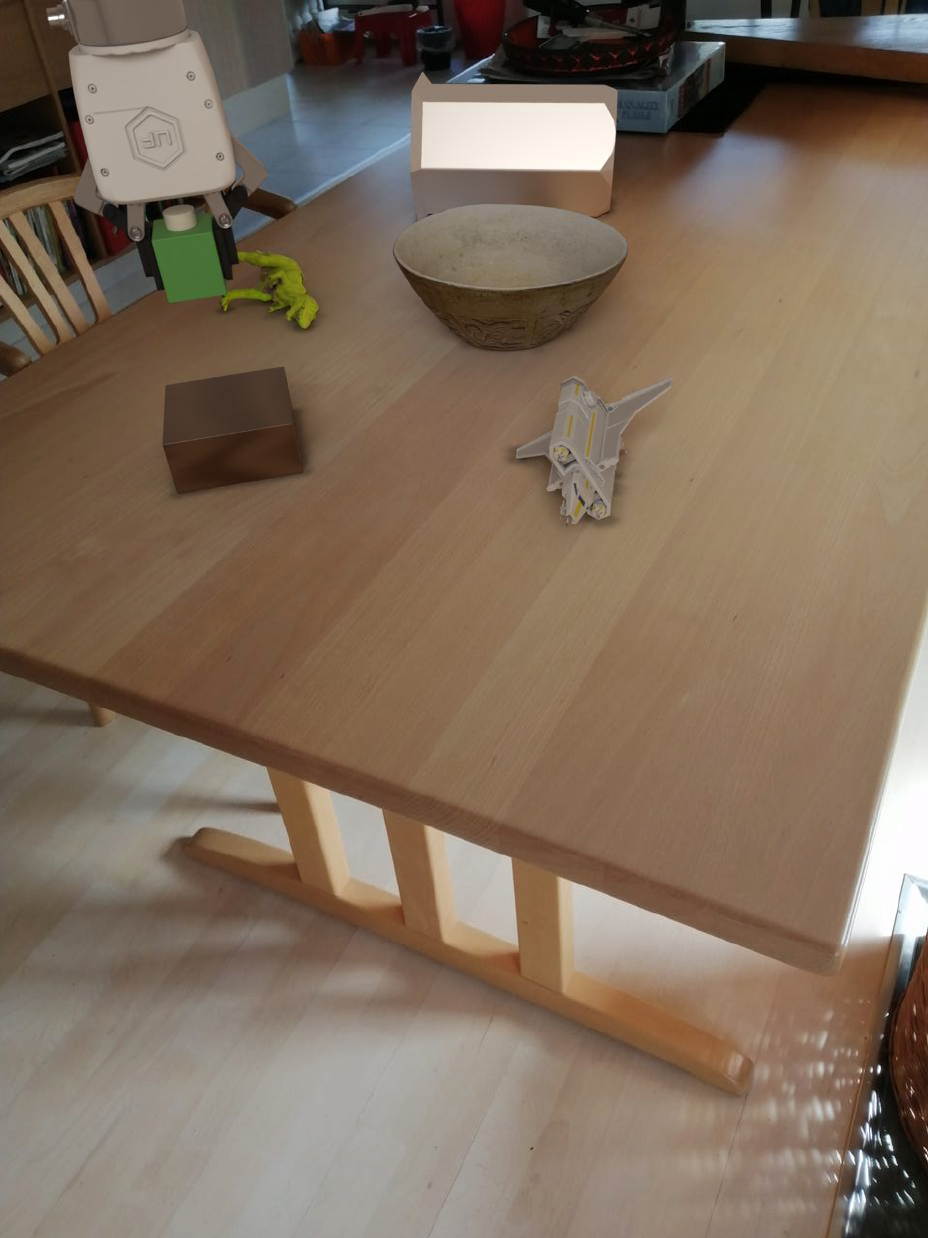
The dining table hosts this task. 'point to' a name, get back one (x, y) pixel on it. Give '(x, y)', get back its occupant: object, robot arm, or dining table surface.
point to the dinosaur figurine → (277, 287)
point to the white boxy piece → (512, 146)
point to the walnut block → (230, 430)
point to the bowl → (509, 270)
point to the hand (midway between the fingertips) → (195, 276)
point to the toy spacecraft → (588, 445)
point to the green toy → (187, 255)
